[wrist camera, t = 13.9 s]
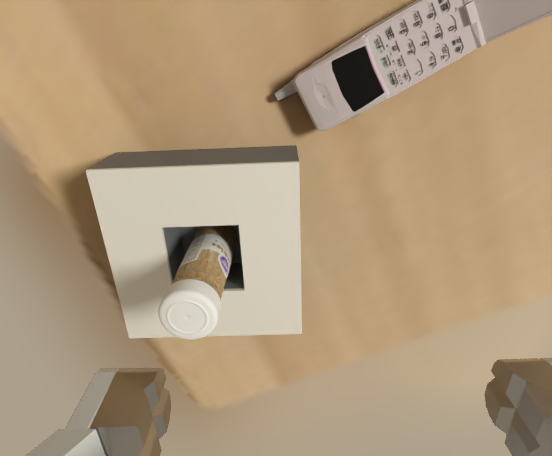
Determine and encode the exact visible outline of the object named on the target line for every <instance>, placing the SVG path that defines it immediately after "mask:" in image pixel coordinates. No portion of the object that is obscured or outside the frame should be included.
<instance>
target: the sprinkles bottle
mask: <svg viewBox="0 0 552 456" xmlns="http://www.w3.org/2000/svg"><path fill="white" fill-rule="evenodd" d="M236 243H237V242H236V235H235V233H234V231H233V230H232V228H231V227H229V226H228V225H223V226H200V227H199V228H198V229H197V231H196V233H195V237H194V240H193V241H192V243H191V244H190V246H189V248H188V250H187V252H186V254H185V256H184V259H183V261H182V263H181V265H180V267H179V269H178V271H177V273H176V277H175V278H174V281H173V283H172V285H171V286H170V287H169V288H168V289H167V290H166V292H165V294H164V296H163V298H162V300H161V303H160V305H159V309H158V315H159V319H160V322H161V324H162V325H163V327H164V328H165V329H166V330H167V331H168V332H170V333H171V334H173V335H174V336H177V337H179V338H183V339H199V338H202V337H204V336H206V335H208V334H209V333H211V332H212V331H213V330H214V328H215V327H216V325H217V322H218V319H219V315H220V311H221V297H222V293H223V290H224V285H225V282H226V279H227V276H228V273H229V269H230V265H231V261H232V255H233V251H234V250H235V248H236Z"/></svg>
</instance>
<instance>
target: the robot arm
mask: <svg viewBox="0 0 552 456" xmlns="http://www.w3.org/2000/svg"><path fill="white" fill-rule="evenodd" d="M491 371H492V373H493V375H494V376H495V378H494V379H493V380H492V381H491V382H489V383H488V384H487V387H486V391H485V401H486V407H487V410H488V413H489V416H490V417H491V419H492V421H493V423H494V425H495V426H497V427H498V428H499V429H501V430H502V431H504V432H505V433H506V440H505V444H506V446H507V447H508V449H509V451H510V453H511V454H512V456H552V358H540V359H537V358H534V359H533V358H532V359H504V360H497V361H496V362H495V363H494V365H493V368H492V370H491ZM165 380H166V377H165V373H164V369H162V368H101V369H100V370H98V371H97V372H96V373H95V374H94V377H93V378H92V380H91V382H90V384H89V385H88V387H87V389H86V391H85V393H84V395H83V396H82V398H81V400H80V402H79V404H78V406H77V407H76V409H75V411H74V413H73V415H72V417H71V418H70V420H69V422H68V424H67V426H66V428H65V429H59V430H57V431H56V432H54V433H53V434H52V435H51V436H49V437H48V438H47V439H46V440H44V441H43V442H42V443H40V444H39V445H38V446H37V447H35V448H34V449H33V450H31V451H30V452H29V453H28V454H26V455H25V456H160V453H161V447H160V443H159V439H160V438H161V437H162V436H163V435H164V433H166V432H167V428H168V424H169V420H170V410H171V401H170V394H169V391H168V390H167V389H165V388H164V383H165Z"/></svg>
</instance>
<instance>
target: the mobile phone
mask: <svg viewBox="0 0 552 456" xmlns="http://www.w3.org/2000/svg"><path fill="white" fill-rule="evenodd" d="M551 14H552V0H417V1H415V2H413V3H411V4H409V5H408V6H406V7H404V8H402V9H400V10H399V11H397V12H395V13H393V14H392V15H390V16H388V17H387V18H385V19H383V20H381V21H380V22H378V23H376V24H375V25H373V26H371V27H369V28H368V29H366V30H364V31H363V32H361V33H359V34H358V35H356V36H354V37H353V38H351V39H350V40H348V41H347V42H345V43H343V44H342V45H340V46H339V47H337V48H336V49H334V50H332V51H331V52H329V53H328V54H326V55H324V56H323V57H321V58H320V59H318V60H316V61H315V62H313V63H312V64H311V65H310V66H309V67H307V68H306V69H304V70H302V71H301V72H299V73H298V74H297V75H296V76H295V78H294V79H292V80H291V82H289V83H288V84H287V85H285V86H284V87H282V88H281V89H280V90H278V91H277V92H276V93H274V94H275V96H276V98H277V100H278V101H279V100H281V99H283V98H285V97H287V96H289V95H292V94H294V93H297V92H298V94H299V96H300V98H301V100H302V102H303V104H304V106H305V108H306V110H307V112H308V114H309V116H310V118H311V120H312V122H313V124H314V126H315V127H316V128H317V129H319V130H322V131H324V130H327V129H329V128H331V127H333V126H335V125H337V124H339V123H341V122H343V121H345V120H347V119H349V118H353V117H355V116H357V115H359V114H360V113H361V112H363V111H365V110H367V109H369V108H371V107H373V106H375V105H377V104H379V103H381V102H383V101H385V100H387V99H388V98H390V97H392V96H394V95H396V94H398V93H400V92H402V91H403V90H405V89H407V88H409V87H411V86H413V85H414V84H416V83H418V82H420V81H421V80H423V79H425V78H427V77H428V76H430V75H432V74H434V73H435V72H437V71H439V70H440V69H442V68H444V67H446V66H447V65H449V64H451V63H452V62H454V61H456V60H458V59H459V58H461V57H463V56H464V55H466V54H468V53H470V52H471V51H473V50H475V49H476V48H478V47H482V46H483V45H485V43H486V42H488V41H491V40H493V39H495V38H498V37H500V36H502V35H505V34H507V33H509V32H512V31H514V30H516V29H519V28H521V27H523V26H526V25H528V24H530V23H533V22H535V21H537V20H540V19H542V18H544V17H547V16H549V15H551Z"/></svg>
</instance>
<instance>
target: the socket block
mask: <svg viewBox="0 0 552 456" xmlns="http://www.w3.org/2000/svg"><path fill="white" fill-rule="evenodd" d="M86 174H87V178H88V182H89V186H90V190H91V193H92V197H93V201H94V205H95V209H96V213H97V216H98V220H99V224H100V228H101V232H102V236H103V239H104V243H105V247H106V251H107V255H108V259H109V262H110V266H111V270H112V274H113V278H114V281H115V285H116V289H117V293H118V297H119V301H120V304H121V308H122V312H123V316H124V320H125V324H126V327H127V331H128V335H129V338H157V337H177V336H174V335H173V334H171V333H170V332H168V331H167V330H166V329H165V328H164V327H163V325H162V324H161V322H160V319H159V315H158V309H159V305H160V303H161V300H162V298H163V296H164V294H165V292H166V290H167V289H168V288H169V287H170V286H171V285H172V283H173V281H174V278H175V277H176V273H177V271H178V269H179V267H180V265H181V263H182V261H183V259H184V256H185V254H186V252H187V250H188V248H189V246H190V244H191V243H192V241H193V240H194V237H195V233H196V231H197V229H198V228H199V227H200V226H223V225H228V226H229V227H231V228H232V230H233V231H234V233H235V235H236V242H237V243H236V248H235V250H234V251H233V255H232V261H231V265H230V269H229V273H228V276H227V279H226V282H225V285H224V290H223V293H222V297H221V311H220V315H219V319H218V322H217V325H216V327H215V328H214V330H213V331H212V332H211V333H209V334H208V335H206V336H235V335H274V334H302V304H301V245H300V186H299V159H298V153H297V147H296V146H272V147H247V148H222V149H197V150H172V151H147V152H121V153H115V154H113V155H111V156H109V157H108V158H106V159H104V160H103V161H101V162H99V163H97V164H96V165H94V166H92V167H91V168H89V169H87V170H86Z"/></svg>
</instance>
